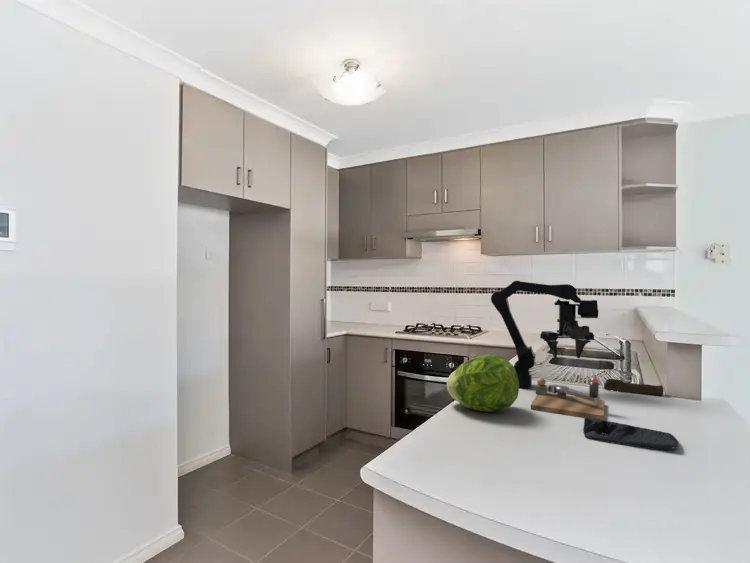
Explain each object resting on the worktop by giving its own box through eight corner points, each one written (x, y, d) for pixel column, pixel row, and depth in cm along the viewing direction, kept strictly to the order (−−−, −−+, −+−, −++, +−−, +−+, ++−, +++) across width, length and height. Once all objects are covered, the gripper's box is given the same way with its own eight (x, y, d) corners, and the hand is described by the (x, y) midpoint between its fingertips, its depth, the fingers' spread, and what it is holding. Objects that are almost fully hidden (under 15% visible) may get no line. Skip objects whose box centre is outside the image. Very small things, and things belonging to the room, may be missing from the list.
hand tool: (662, 395, 156) (662, 382, 156) (663, 397, 152) (663, 385, 152) (604, 388, 165) (604, 376, 164) (604, 391, 161) (604, 378, 161)
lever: (547, 391, 148) (547, 368, 148) (556, 390, 150) (556, 366, 150) (593, 405, 133) (593, 379, 133) (601, 403, 135) (602, 377, 135)
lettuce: (463, 397, 152) (452, 349, 151) (529, 396, 140) (518, 344, 138) (444, 422, 136) (431, 369, 135) (517, 423, 124) (504, 365, 122)
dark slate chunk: (679, 459, 101) (679, 440, 101) (579, 439, 114) (579, 421, 114) (677, 439, 114) (677, 421, 114) (587, 422, 127) (587, 407, 126)
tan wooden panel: (529, 409, 138) (529, 386, 137) (537, 395, 153) (537, 375, 153) (603, 420, 127) (603, 396, 127) (604, 404, 143) (604, 383, 143)
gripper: (555, 319, 150) (554, 363, 150) (604, 319, 152) (603, 362, 152) (539, 316, 161) (539, 357, 161) (585, 316, 163) (584, 356, 163)
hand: (566, 358), depth 159 cm, fingers open, 9 cm apart
